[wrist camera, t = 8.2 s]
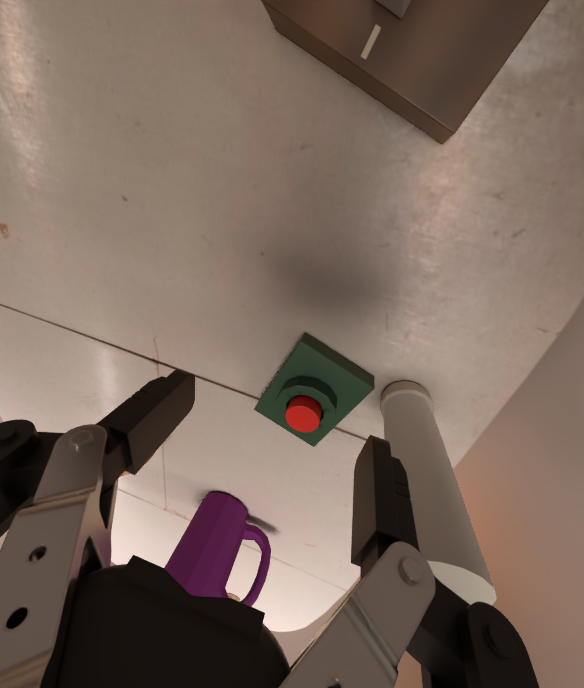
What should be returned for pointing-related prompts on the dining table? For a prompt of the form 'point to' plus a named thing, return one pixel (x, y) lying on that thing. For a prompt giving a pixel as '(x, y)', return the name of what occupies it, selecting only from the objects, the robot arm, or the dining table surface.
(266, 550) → the mug
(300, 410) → the red push button
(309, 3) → the panel
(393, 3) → the tap handle
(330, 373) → the switch
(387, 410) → the bottle
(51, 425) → the dining table surface
